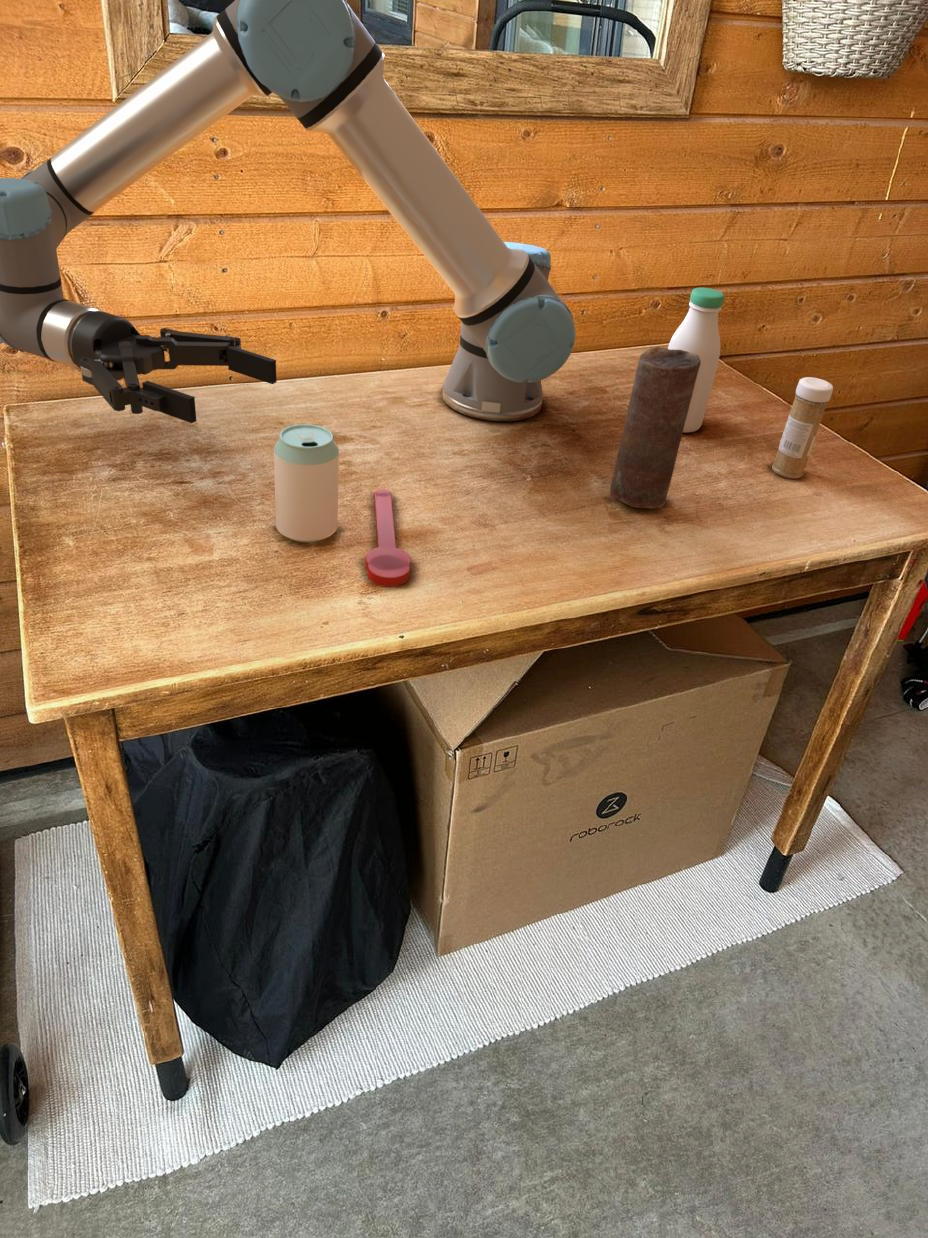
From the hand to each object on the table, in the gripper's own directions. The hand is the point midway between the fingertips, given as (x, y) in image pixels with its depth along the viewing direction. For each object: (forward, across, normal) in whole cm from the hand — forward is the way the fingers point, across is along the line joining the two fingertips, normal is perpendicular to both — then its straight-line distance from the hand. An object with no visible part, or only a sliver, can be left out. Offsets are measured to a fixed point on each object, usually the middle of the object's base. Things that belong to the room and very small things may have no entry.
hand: (235, 390), depth 103 cm
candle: (+39, -31, -15) cm, 52 cm away
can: (+10, 0, -14) cm, 17 cm away
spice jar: (+54, -54, -15) cm, 77 cm away
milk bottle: (+35, -59, -15) cm, 71 cm away
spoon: (+18, -3, -14) cm, 23 cm away
